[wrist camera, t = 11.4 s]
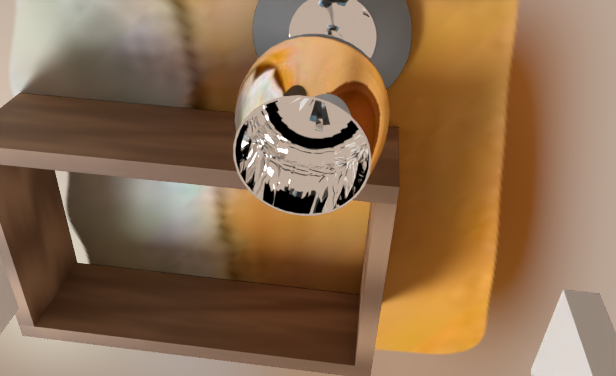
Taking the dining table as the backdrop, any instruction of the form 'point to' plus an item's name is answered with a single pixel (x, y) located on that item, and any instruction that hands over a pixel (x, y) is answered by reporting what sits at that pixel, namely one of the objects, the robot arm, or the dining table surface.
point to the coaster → (385, 12)
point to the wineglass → (313, 112)
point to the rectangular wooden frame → (156, 285)
